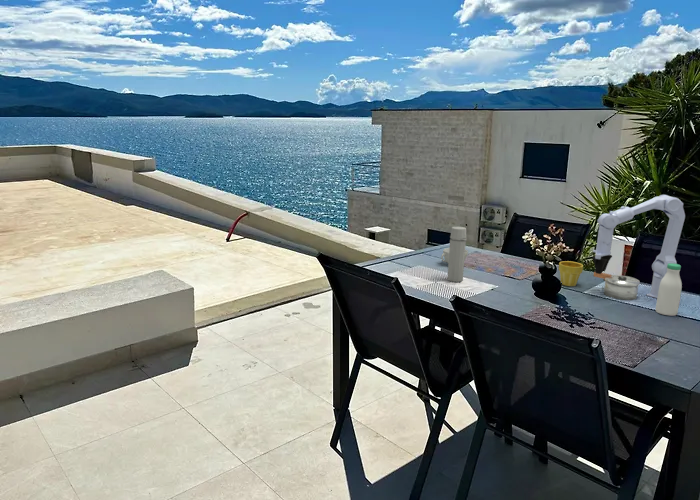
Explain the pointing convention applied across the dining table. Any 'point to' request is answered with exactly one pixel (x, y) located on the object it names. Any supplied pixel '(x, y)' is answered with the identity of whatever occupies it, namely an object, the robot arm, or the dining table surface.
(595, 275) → the cooker lid
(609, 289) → the cooker pot
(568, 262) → the plant pot
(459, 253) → the water bottle
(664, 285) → the milk bottle
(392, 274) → the dining table surface
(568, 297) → the dining table surface
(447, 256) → the teacup
